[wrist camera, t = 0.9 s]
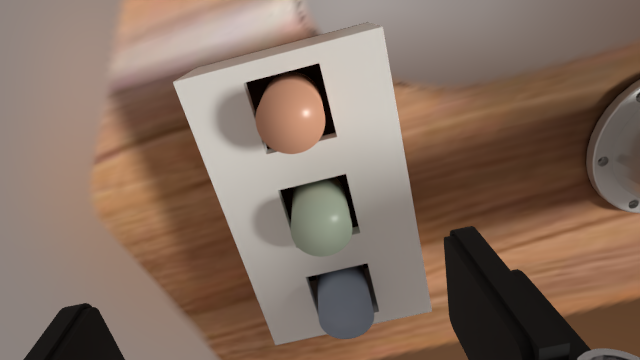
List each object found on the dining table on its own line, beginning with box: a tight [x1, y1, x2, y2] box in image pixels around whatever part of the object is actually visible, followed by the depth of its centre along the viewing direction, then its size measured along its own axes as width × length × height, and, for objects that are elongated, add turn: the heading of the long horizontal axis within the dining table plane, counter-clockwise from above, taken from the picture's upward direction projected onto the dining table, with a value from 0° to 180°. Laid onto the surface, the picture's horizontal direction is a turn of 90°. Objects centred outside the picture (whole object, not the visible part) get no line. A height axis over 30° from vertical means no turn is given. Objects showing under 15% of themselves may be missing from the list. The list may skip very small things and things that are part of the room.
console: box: [173, 22, 432, 345], centre depth 31 cm, size 13×22×6 cm, turn 14°
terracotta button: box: [256, 72, 325, 154], centre depth 26 cm, size 4×4×5 cm
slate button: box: [317, 265, 374, 339], centre depth 32 cm, size 4×4×5 cm
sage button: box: [291, 177, 352, 257], centre depth 29 cm, size 4×4×5 cm
